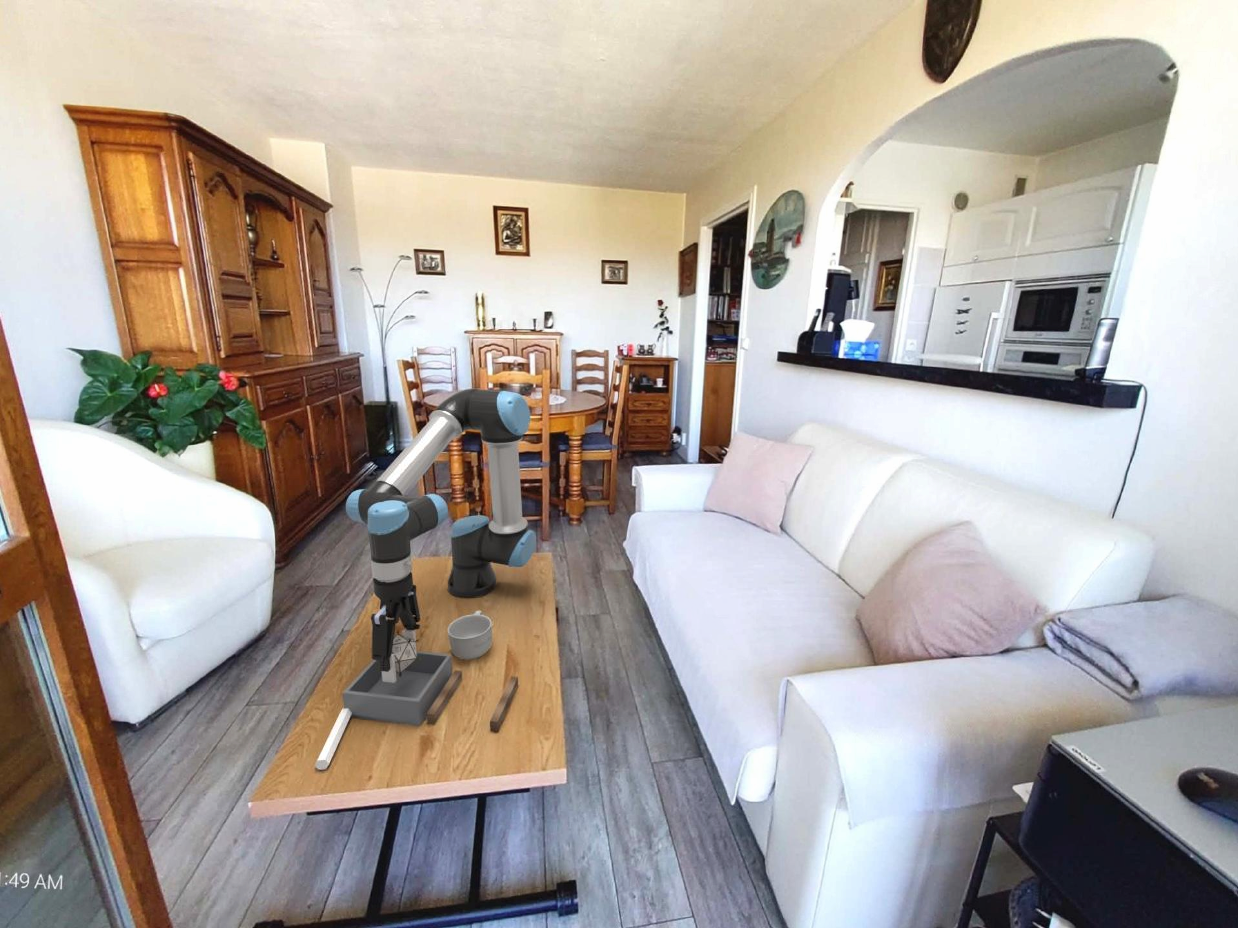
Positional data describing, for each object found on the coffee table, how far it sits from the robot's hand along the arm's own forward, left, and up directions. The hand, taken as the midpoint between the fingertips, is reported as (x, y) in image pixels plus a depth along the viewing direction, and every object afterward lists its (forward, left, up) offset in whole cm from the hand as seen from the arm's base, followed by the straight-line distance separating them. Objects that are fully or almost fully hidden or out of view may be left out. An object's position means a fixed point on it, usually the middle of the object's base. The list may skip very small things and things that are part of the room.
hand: (400, 667), depth 108 cm
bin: (0, 0, -7) cm, 7 cm away
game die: (0, 0, -1) cm, 1 cm away
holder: (0, +17, -7) cm, 18 cm away
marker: (+13, -6, -7) cm, 16 cm away
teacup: (-19, +9, -7) cm, 22 cm away
